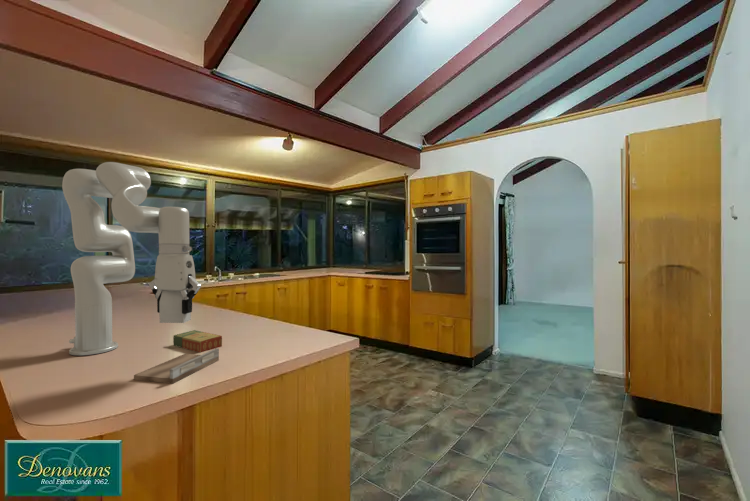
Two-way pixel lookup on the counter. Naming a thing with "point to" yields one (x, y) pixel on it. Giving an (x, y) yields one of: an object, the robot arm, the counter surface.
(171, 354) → the counter surface
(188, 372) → the shelf board
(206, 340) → the carton
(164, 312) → the tea bag
